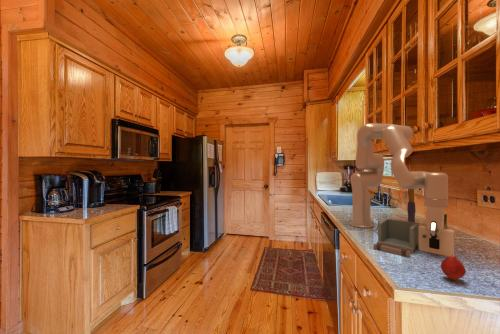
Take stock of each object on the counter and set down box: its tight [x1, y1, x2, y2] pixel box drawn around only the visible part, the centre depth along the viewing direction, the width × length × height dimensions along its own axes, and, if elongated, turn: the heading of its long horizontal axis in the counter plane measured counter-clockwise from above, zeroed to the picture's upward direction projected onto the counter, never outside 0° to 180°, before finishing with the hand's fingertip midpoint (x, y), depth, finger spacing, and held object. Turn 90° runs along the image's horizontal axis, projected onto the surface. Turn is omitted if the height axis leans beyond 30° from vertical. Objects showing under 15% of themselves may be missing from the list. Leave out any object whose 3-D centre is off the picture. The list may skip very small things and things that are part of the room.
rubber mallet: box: [406, 189, 416, 223], centre depth 131 cm, size 12×8×30 cm, turn 139°
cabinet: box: [373, 217, 420, 258], centre depth 101 cm, size 18×13×10 cm
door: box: [418, 224, 455, 257], centre depth 94 cm, size 4×11×10 cm, turn 45°
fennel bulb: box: [443, 213, 448, 229], centre depth 115 cm, size 6×5×12 cm
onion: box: [440, 254, 467, 281], centre depth 73 cm, size 6×6×8 cm
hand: (435, 245), depth 95 cm, fingers open, 7 cm apart
